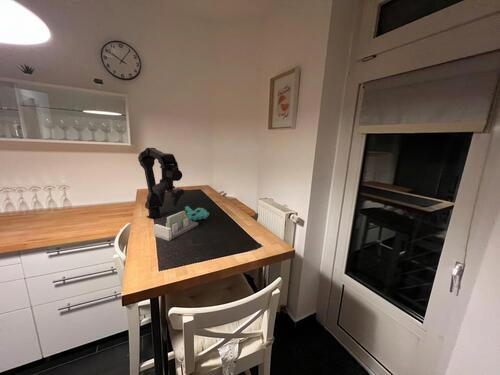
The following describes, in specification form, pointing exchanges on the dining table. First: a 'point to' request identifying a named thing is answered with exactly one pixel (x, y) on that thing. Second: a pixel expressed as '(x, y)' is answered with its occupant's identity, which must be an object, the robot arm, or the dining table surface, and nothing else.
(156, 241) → the dining table surface
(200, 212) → the alien figure
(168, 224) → the cabinet door
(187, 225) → the hinge base
